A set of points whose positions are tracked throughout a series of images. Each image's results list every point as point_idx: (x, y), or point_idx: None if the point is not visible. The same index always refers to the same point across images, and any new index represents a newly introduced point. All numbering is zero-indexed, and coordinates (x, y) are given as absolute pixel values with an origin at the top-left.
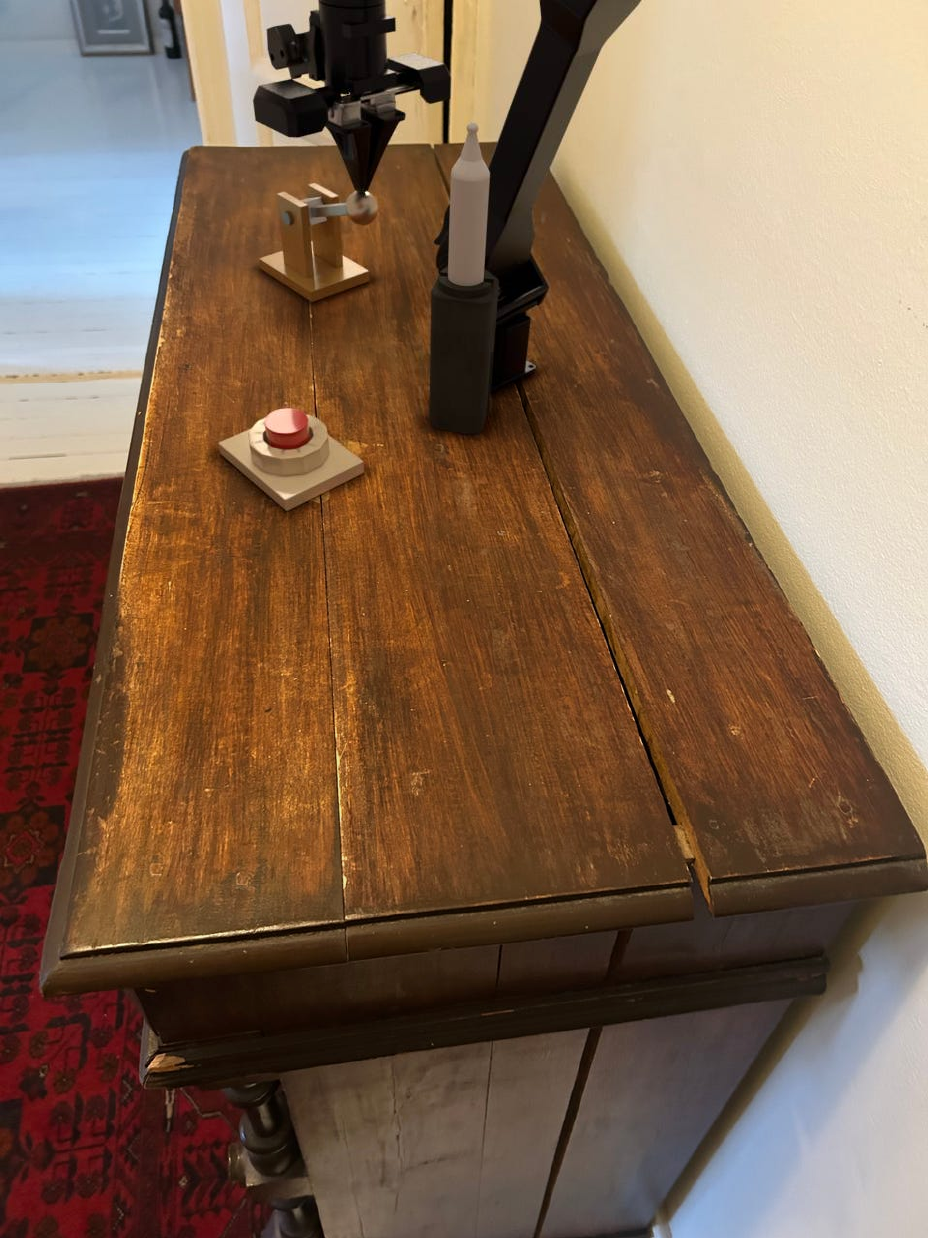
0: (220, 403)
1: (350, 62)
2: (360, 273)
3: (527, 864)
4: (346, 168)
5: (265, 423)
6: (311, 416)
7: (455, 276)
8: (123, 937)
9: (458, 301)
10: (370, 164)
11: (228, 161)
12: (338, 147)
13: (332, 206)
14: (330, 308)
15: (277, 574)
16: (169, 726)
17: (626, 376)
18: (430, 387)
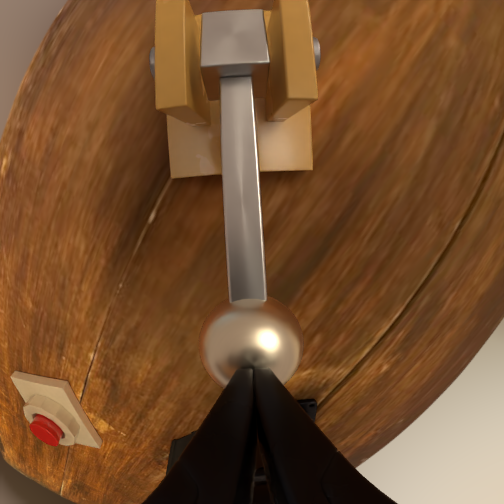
0: (15, 320)
1: None
2: (292, 168)
3: None
4: (203, 421)
5: (30, 428)
6: (65, 427)
7: None
8: (13, 467)
9: None
10: (269, 492)
11: None
12: (156, 491)
13: (223, 199)
14: (191, 211)
15: (45, 445)
16: (13, 450)
17: (358, 453)
18: (166, 471)
